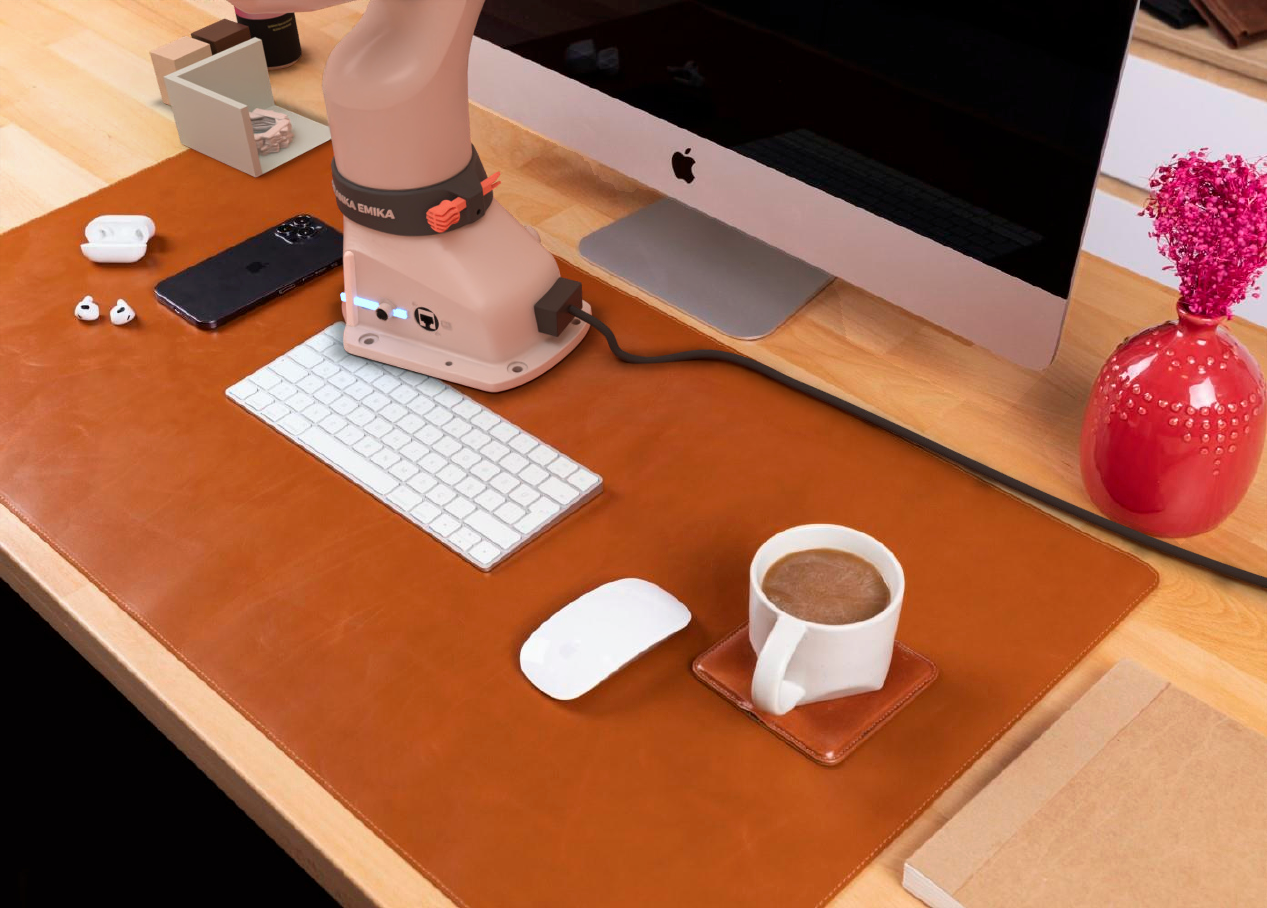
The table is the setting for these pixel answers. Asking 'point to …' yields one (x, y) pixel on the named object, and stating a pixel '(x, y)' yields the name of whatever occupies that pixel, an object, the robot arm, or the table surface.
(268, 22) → the beverage can
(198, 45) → the light tan block
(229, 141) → the l-shaped corner panel
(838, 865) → the table surface
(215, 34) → the walnut block
